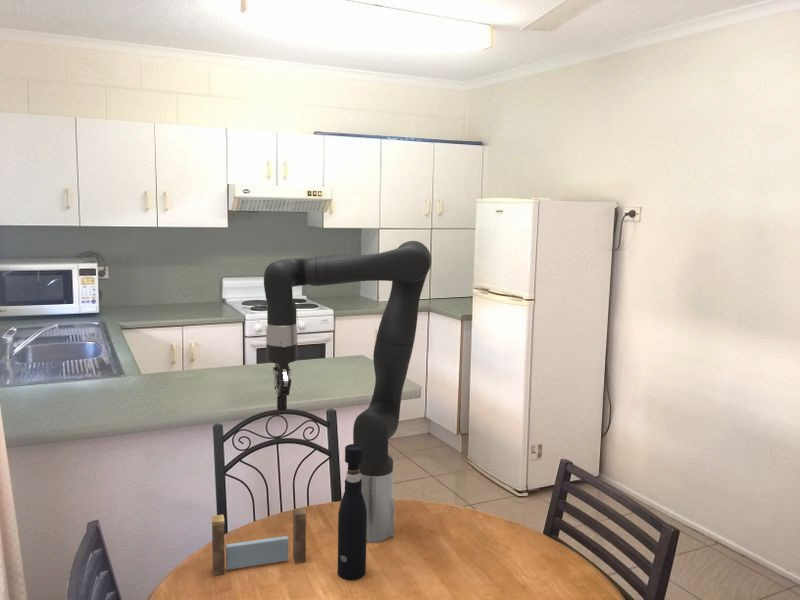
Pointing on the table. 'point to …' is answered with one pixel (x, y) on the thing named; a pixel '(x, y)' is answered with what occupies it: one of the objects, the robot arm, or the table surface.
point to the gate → (256, 552)
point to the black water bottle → (352, 520)
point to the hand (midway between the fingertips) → (281, 409)
